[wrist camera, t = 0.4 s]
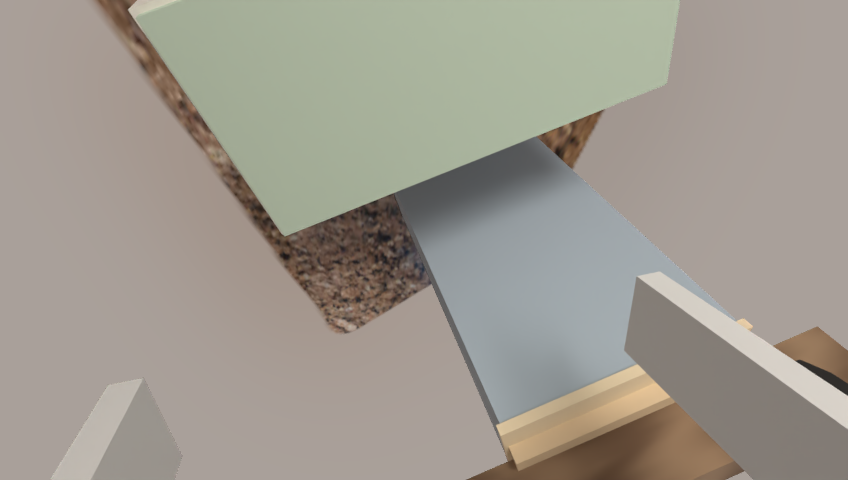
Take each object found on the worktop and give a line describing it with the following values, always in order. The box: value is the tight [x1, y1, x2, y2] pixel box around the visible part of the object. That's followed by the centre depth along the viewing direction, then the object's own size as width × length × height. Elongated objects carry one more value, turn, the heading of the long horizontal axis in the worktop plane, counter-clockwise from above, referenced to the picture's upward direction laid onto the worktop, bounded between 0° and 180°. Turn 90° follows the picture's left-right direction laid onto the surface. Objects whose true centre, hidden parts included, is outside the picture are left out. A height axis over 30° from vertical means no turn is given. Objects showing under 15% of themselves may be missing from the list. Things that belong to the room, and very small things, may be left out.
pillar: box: [394, 136, 753, 471], centre depth 32 cm, size 12×10×29 cm
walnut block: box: [467, 327, 848, 480], centre depth 21 cm, size 26×4×4 cm, turn 106°
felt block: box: [128, 0, 680, 237], centre depth 24 cm, size 20×10×20 cm, turn 106°
